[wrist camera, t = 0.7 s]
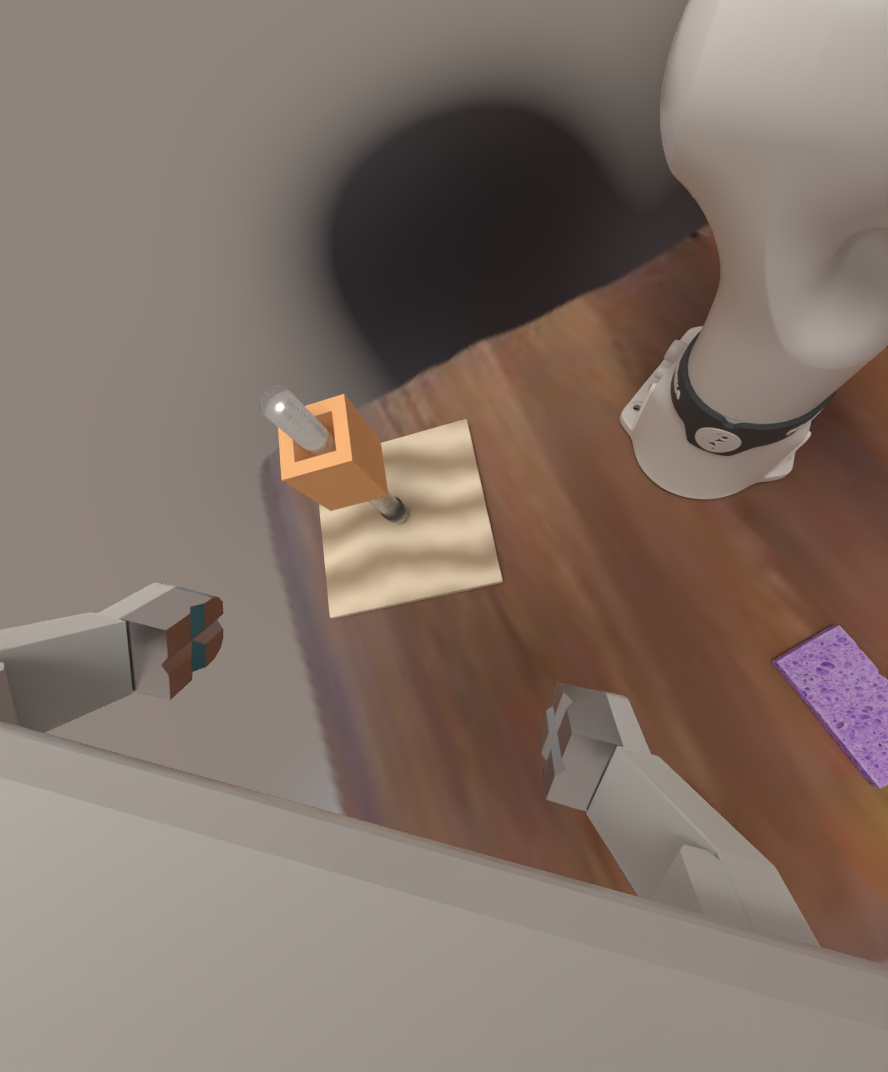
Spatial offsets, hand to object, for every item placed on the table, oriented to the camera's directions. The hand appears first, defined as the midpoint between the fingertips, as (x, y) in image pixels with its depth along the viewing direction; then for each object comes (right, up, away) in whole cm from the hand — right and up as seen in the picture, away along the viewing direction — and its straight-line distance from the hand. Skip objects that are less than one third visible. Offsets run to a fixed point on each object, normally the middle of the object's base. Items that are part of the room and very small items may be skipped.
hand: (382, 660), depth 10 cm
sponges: (+41, -13, +30) cm, 52 cm away
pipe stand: (-4, +5, +45) cm, 45 cm away
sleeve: (-7, +9, +30) cm, 32 cm away
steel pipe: (-4, +6, +43) cm, 44 cm away
